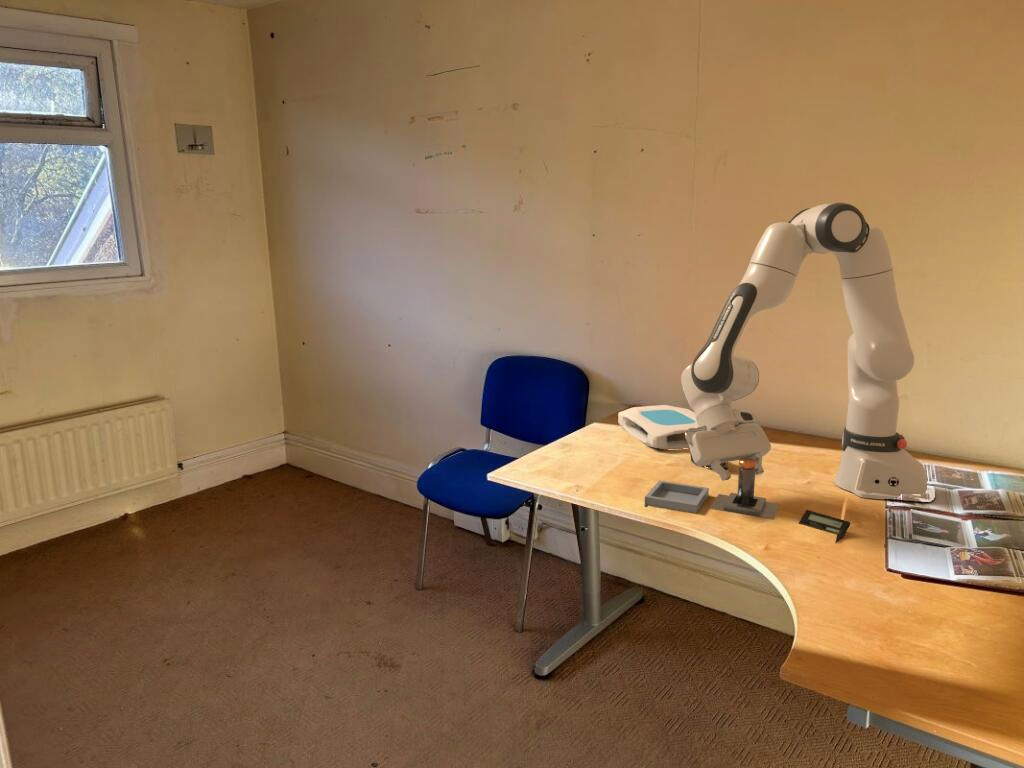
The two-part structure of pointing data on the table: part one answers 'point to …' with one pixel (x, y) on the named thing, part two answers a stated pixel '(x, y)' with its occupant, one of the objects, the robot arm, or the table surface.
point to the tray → (677, 496)
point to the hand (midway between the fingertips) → (743, 476)
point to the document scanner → (658, 424)
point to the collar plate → (757, 510)
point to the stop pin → (746, 481)
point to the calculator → (825, 523)
